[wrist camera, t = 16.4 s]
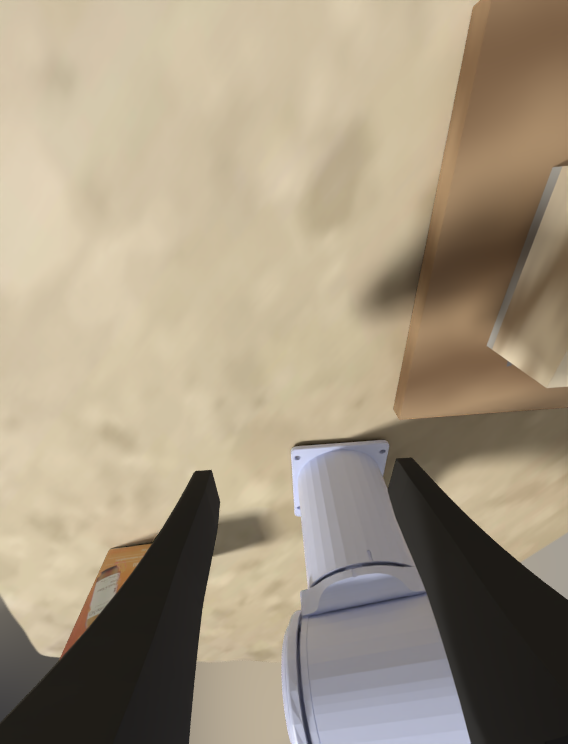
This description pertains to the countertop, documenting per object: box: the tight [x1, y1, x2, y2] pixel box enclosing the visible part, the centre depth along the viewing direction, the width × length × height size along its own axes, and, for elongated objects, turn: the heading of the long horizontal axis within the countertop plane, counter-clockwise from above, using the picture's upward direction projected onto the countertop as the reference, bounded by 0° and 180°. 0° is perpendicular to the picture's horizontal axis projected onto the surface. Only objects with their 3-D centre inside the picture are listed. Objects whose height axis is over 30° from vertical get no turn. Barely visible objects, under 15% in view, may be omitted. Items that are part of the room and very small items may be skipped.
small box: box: [59, 544, 151, 660], centre depth 27 cm, size 8×6×10 cm
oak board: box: [393, 0, 568, 420], centre depth 16 cm, size 20×14×1 cm
